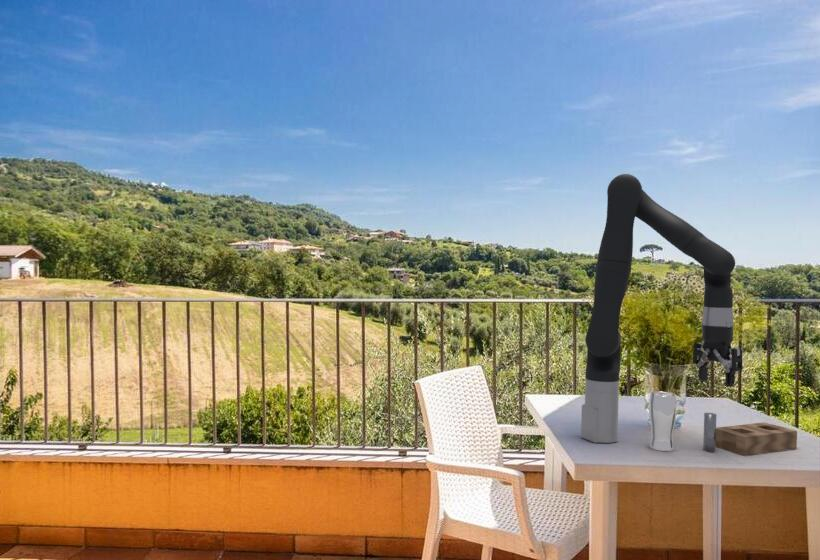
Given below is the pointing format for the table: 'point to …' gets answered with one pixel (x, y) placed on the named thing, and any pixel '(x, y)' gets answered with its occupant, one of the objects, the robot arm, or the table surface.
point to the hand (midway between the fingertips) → (716, 383)
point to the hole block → (755, 438)
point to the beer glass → (662, 420)
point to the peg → (709, 432)
